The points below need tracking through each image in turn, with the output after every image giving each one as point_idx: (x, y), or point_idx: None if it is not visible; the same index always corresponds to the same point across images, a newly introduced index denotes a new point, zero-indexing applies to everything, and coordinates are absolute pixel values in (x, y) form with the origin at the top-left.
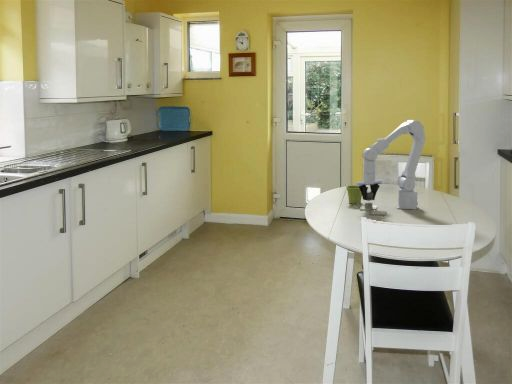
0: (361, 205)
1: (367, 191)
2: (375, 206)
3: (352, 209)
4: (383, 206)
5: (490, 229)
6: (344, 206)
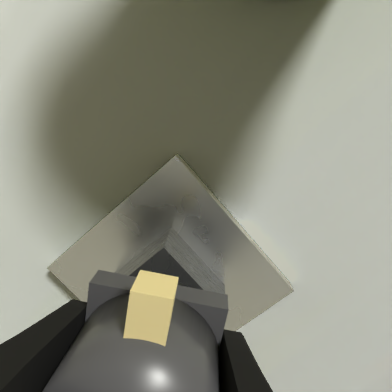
0: (164, 172)
1: (158, 387)
2: (251, 303)
3: (9, 194)
4: (378, 292)
5: None
6: (22, 9)
